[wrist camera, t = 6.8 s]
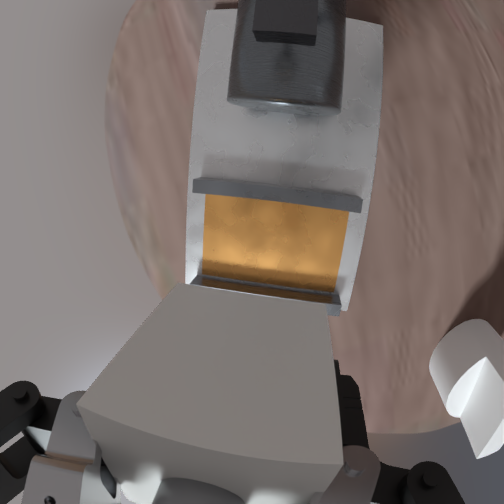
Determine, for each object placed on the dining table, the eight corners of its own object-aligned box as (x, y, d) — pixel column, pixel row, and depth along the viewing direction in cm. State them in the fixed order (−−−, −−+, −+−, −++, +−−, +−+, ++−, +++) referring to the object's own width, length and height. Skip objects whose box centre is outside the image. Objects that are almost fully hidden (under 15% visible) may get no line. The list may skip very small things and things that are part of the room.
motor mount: (211, 16, 19) (166, -42, 10) (378, 31, 18) (418, -26, 8) (191, 281, 27) (142, 343, 18) (344, 302, 26) (363, 378, 16)
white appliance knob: (438, 324, 25) (488, 406, 14) (501, 313, 23) (557, 377, 12) (421, 388, 28) (449, 468, 16) (480, 375, 26) (517, 442, 15)
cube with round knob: (178, 282, 10) (36, 455, 3) (325, 304, 10) (346, 537, 2) (182, 386, 12) (111, 533, 5) (299, 406, 11) (284, 574, 4)
